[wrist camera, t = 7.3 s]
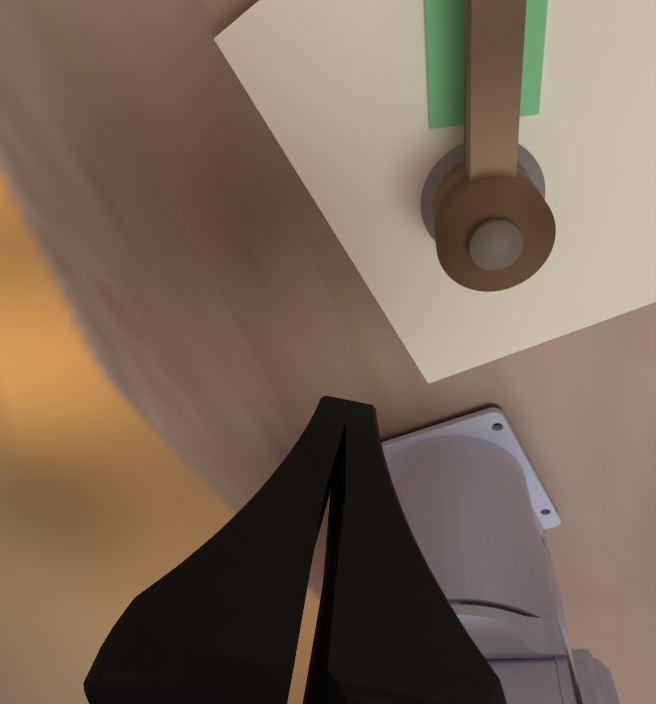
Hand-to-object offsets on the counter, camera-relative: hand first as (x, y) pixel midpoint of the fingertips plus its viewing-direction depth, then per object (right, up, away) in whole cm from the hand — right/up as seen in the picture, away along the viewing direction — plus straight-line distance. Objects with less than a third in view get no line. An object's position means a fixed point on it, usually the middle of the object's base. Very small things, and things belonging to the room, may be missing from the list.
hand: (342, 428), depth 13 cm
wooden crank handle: (+4, +10, +1) cm, 11 cm away
